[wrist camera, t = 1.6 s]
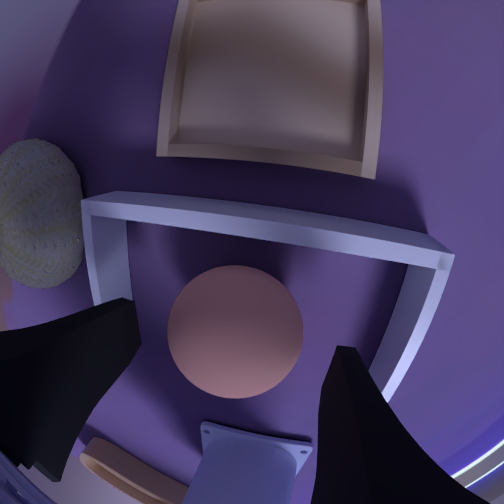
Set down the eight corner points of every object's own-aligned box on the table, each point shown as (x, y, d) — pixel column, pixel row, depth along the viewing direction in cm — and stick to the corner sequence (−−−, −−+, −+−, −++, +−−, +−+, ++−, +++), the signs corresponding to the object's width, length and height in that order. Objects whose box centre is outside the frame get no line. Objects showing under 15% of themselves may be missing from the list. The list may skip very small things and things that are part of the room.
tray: (368, 177, 9) (374, 179, 8) (171, 155, 11) (156, 156, 10) (374, 4, 6) (378, -9, 5) (193, 0, 8) (181, -11, 7)
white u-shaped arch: (372, 383, 12) (377, 418, 10) (130, 331, 15) (106, 354, 12) (428, 234, 9) (455, 254, 7) (116, 190, 12) (80, 199, 9)
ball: (295, 352, 12) (281, 436, 8) (198, 331, 13) (152, 400, 9) (316, 257, 11) (314, 329, 6) (199, 238, 12) (131, 289, 7)
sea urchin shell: (19, 105, 10) (-43, 165, 5) (116, 145, 15) (109, 220, 10) (-7, 214, 13) (-37, 298, 8) (72, 240, 19) (66, 326, 14)
